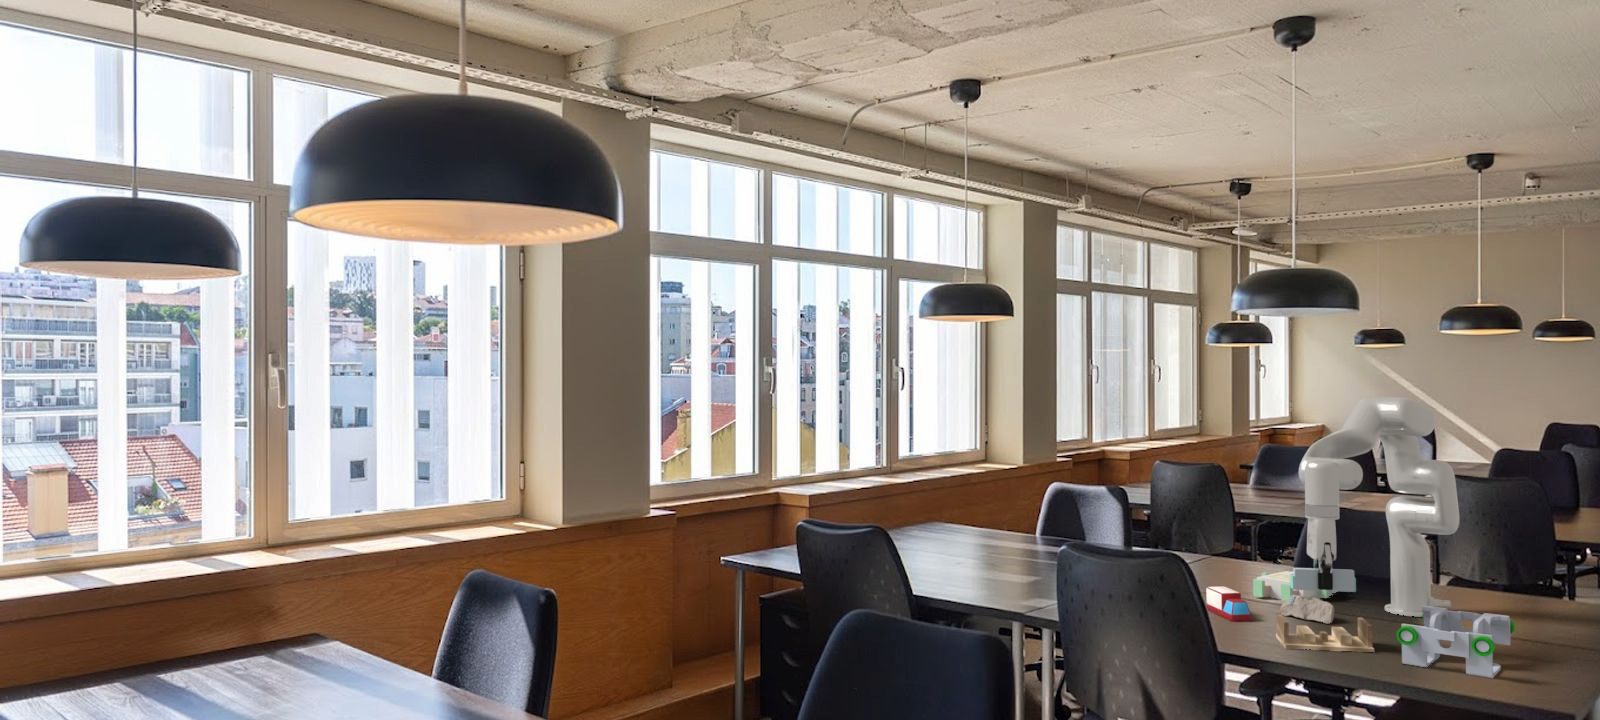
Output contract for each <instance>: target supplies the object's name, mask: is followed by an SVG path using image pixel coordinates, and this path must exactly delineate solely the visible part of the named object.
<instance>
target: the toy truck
mask: <svg viewBox="0 0 1600 720" xmlns="http://www.w3.org/2000/svg"><path fill="white" fill-rule="evenodd" d="M1205 593H1206V595H1205V596H1206V603H1205V604H1206V610H1207V609H1208V610H1207V611H1208V612H1210V613H1212V614H1214V615H1217V616H1218V617H1220V618H1223V619H1225V620H1227V621H1229V622H1231V623H1238V622H1239V623H1242V622H1244V623H1246V622H1248V623H1249V622H1252V614H1251V613H1252V612H1251V611H1250V608H1249V605H1248V603H1247V601H1245V600H1243V599H1242V594H1241V592H1239V591H1237V590H1234V589H1232V588H1229V587H1226V586H1206V592H1205Z"/></svg>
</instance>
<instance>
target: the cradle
mask: <svg viewBox="0 0 1600 720" xmlns="http://www.w3.org/2000/svg"><path fill="white" fill-rule="evenodd" d="M1289 624H1290V623H1289V621H1288V620H1287V619H1286V618H1285V616H1282V614H1276V633H1275V638H1276V639H1277V640H1278V641H1279V643H1280V644H1281V645H1282V646H1283V648H1284V649H1285V650H1297V649H1304V650H1305V649H1307V650H1305V651H1319V650H1330V651H1329V652H1341V651H1353V652H1352V653H1355V652H1354V651H1358V652H1357V653H1363V652H1374V653H1375V648H1374V647H1373V625H1372V624H1370V623H1369V622H1368V621H1367V620H1365V619H1364V618H1363V617H1357V636H1354V635H1353V636H1352V634H1350V633H1349V631H1347V630H1346V629H1345V628H1344V627H1343V626H1331V634H1328V632H1326V631H1323V630H1320V631H1318V634H1316V633H1315V632H1314V630H1312V629H1311V628H1310V627H1309V626H1308V625H1304V624H1303V625H1301V624H1300V625H1299V624H1298V625H1296V633H1289V632H1290V631H1289V630H1290V629H1289ZM1309 649H1311V650H1309ZM1304 650H1303V651H1304Z"/></svg>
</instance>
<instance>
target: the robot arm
mask: <svg viewBox="0 0 1600 720" xmlns="http://www.w3.org/2000/svg"><path fill="white" fill-rule="evenodd" d="M1436 421H1437V420H1436V414H1435V412H1434V410H1433V409H1432V407H1431V406H1430V405H1428V404H1426V403H1424V402H1421V401H1418V400H1414V399H1411V398H1409V397H1403V396H1401V397H1400V396H1397V397H1396V396H1370V397H1369V396H1368V397H1365V398H1362V399H1360V400H1359V401H1358V402H1357V403H1356V404H1355V406H1354V408H1353V410H1352V411H1351V412H1350V414H1349V415H1348V417H1347V419H1346V421H1345V422H1344V423H1343V426H1342V427H1341V429H1339V430H1336V431H1333V432H1332V433H1330V434H1328V435H1327V436H1324V437H1322V438H1320V439H1318V440H1316V441H1315V442H1313V443H1312V444H1311V445H1310V446H1309V448H1307V450H1306V452H1305V453H1304V455H1303V457H1302V459H1301V461H1300V463H1299V467H1298V478H1299V479H1300V482H1301V483H1302V484H1303V485H1304V501H1305V502H1304V516H1305V519H1307V528H1306V529H1307V533H1306V554H1307V556H1309V557H1310V558H1311V559H1313V568H1318V569H1319V573H1318V589H1320V590H1332V589H1333V573H1332V569H1333V561H1336V560H1337V531H1336V530H1337V527H1336V520H1340V490H1347V491H1348V490H1354V489H1355V488H1357V487H1358V486H1359V485H1360V484H1361V483H1362V481H1363V479H1364V478H1363V476H1364V472H1363V468H1362V466H1361V464H1359V463H1358V462H1357V461H1355V460H1353V459H1350V458H1353V457H1357V456H1360V455H1364V454H1366V453H1368V452H1370V451H1371V450H1372V449H1373V448H1374V447H1375V445H1376V443H1377V441H1378V440H1379V441H1381V444H1382V447H1383V453H1384V459H1385V461H1384V462H1385V468H1386V476H1387V482H1388V485H1389V488H1390V489H1391V490H1392V491H1394V492H1395V493H1399V494H1400V493H1401V494H1406V495H1401V496H1400V495H1399V496H1394V497H1392V498H1391V499H1389V501H1387V503H1386V506H1385V517H1386V518H1385V519H1386V522H1387V527H1388V534H1389V549H1390V550H1389V551H1390V552H1389V553H1390V555H1389V560H1390V563H1389V564H1390V565H1389V566H1390V603H1388V604H1385V605H1384V611H1386V612H1387V613H1389V612H1390V613H1389V614H1393V615H1397V614H1399V615H1398V616H1403V615H1404V616H1405V617H1412V616H1414V617H1413V618H1415V617H1416V618H1422V615H1423V612H1422V606H1431V607H1440V608H1447V609H1448V608H1449V609H1450V608H1452V603H1451V600H1447V599H1446V600H1443V599H1437V598H1434V597H1433V596H1432V595H1431V593H1432V591H1431V550H1430V547H1429V544H1428V543H1427V541H1426V539H1425V537H1424V536H1423V535H1422V534H1431V535H1439V536H1440V535H1441V536H1442V535H1443V536H1445V535H1446V536H1450V535H1453V534H1455V533H1456V532H1457V530H1458V529H1459V526H1460V509H1459V508H1460V507H1459V502H1458V501H1459V500H1458V491H1457V482H1456V476H1455V472H1454V469H1453V467H1452V466H1451V465H1450V464H1449V463H1448V462H1446V461H1443V460H1441V459H1440V460H1439V459H1424V458H1422V456H1421V450H1420V442H1419V439H1418V437H1426V436H1429V435H1430V434H1431V433H1432V432H1433V431H1434V429H1435V426H1436V423H1437V422H1436ZM1347 458H1349V459H1347ZM1407 494H1408V495H1409V496H1408V495H1407ZM1410 495H1419V496H1410ZM1421 495H1422V496H1421ZM1423 496H1431V497H1423ZM1404 616H1403V617H1404Z"/></svg>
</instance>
